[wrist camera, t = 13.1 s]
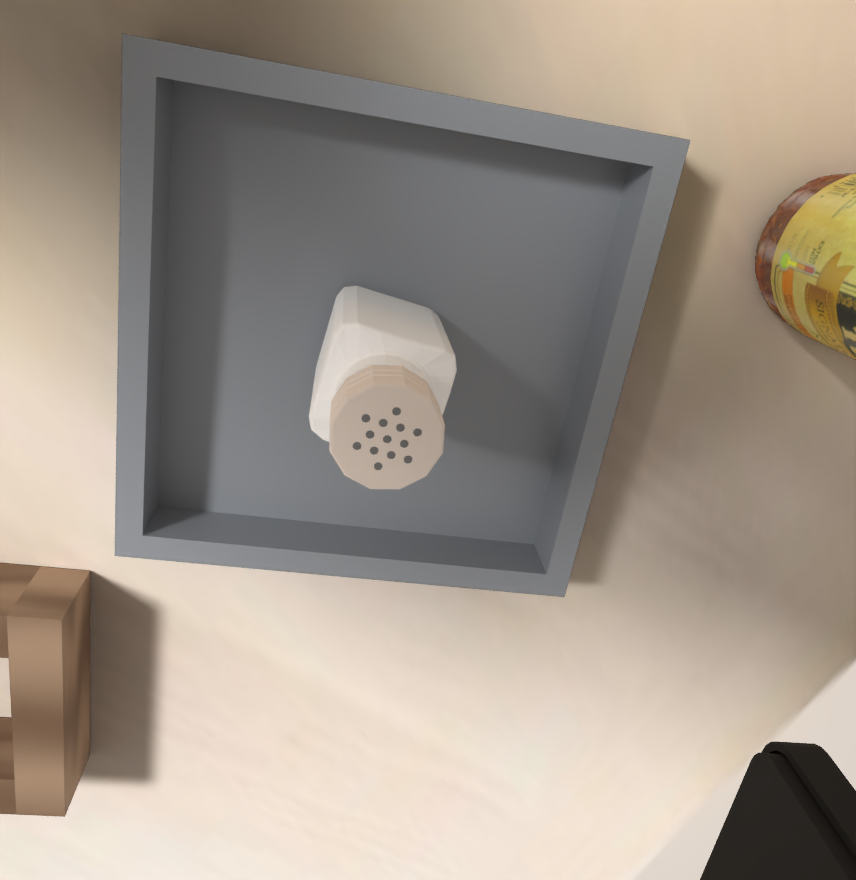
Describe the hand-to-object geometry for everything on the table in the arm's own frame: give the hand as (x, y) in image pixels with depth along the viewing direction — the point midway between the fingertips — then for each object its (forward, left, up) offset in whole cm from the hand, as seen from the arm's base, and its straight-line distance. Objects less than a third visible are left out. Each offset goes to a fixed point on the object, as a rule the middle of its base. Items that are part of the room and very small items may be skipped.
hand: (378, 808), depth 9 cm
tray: (0, +1, -22) cm, 22 cm away
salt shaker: (0, +1, -22) cm, 22 cm away
